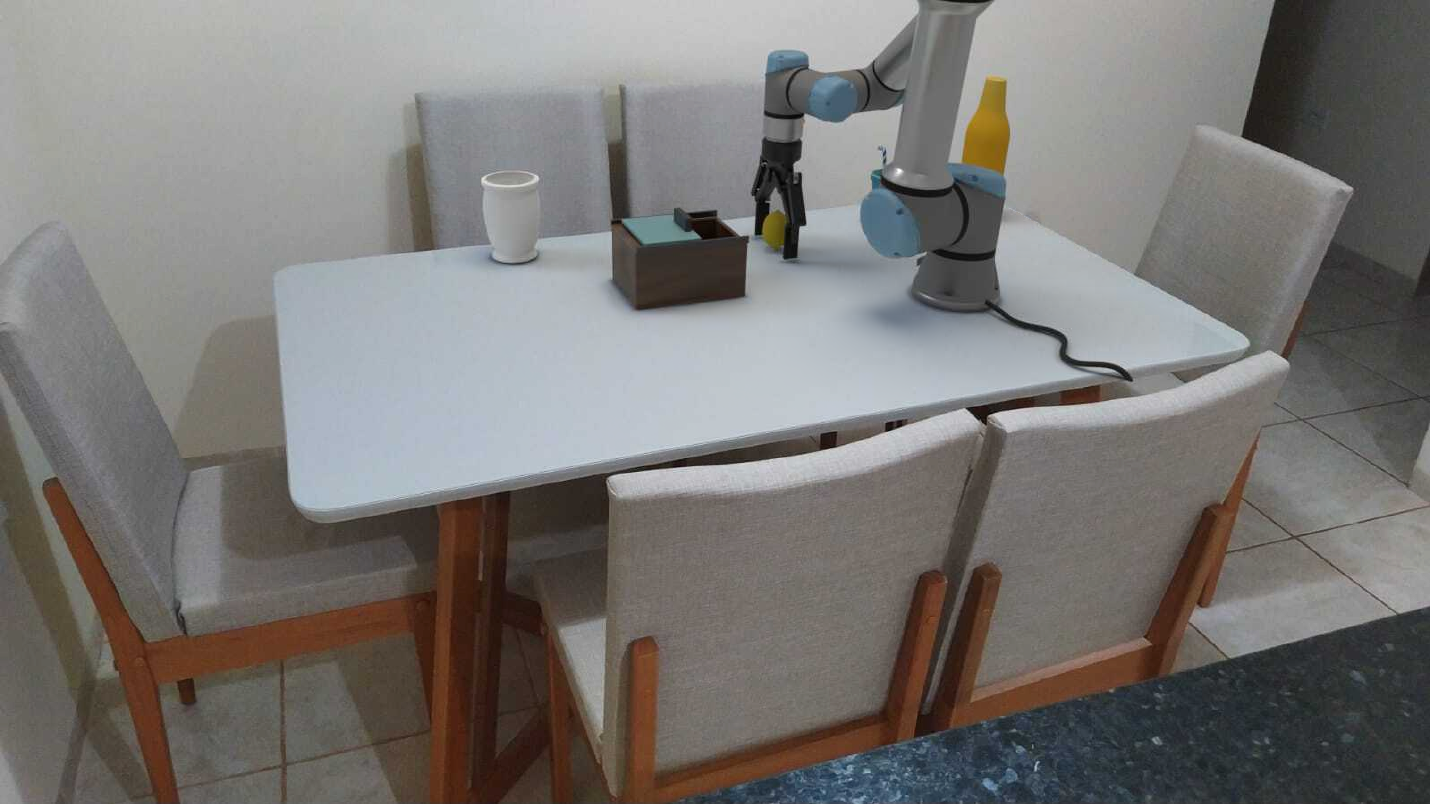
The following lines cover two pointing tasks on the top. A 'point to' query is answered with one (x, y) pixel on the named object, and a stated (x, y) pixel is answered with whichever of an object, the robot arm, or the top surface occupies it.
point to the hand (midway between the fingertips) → (775, 246)
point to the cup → (877, 173)
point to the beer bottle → (989, 129)
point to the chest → (680, 264)
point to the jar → (512, 214)
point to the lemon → (774, 229)
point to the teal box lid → (662, 228)
